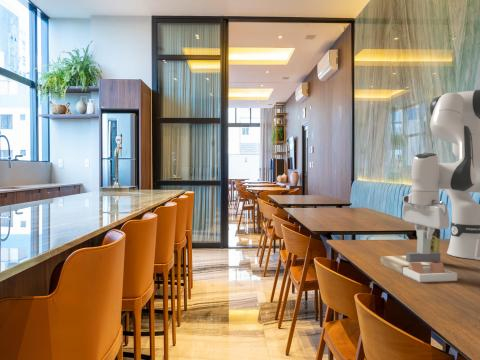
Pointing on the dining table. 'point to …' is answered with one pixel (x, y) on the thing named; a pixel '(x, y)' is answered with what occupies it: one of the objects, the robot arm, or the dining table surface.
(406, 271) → the tray
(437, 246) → the sauce bottle
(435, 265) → the tile
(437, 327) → the dining table surface
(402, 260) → the birch board
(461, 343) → the dining table surface
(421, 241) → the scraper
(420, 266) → the tile
